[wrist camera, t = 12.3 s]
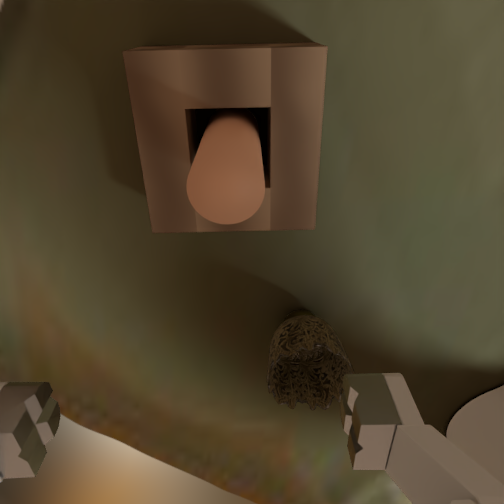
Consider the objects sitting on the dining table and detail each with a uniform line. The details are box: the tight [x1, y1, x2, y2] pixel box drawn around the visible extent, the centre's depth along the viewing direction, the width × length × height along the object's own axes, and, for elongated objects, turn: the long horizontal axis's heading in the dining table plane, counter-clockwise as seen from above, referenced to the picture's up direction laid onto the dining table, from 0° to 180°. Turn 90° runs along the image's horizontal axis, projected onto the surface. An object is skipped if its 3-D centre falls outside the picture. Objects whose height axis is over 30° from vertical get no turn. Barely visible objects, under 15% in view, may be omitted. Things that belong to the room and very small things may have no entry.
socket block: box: [122, 42, 327, 233], centre depth 28 cm, size 12×12×5 cm
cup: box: [267, 310, 355, 410], centre depth 37 cm, size 8×7×8 cm
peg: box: [186, 108, 265, 224], centre depth 25 cm, size 4×4×12 cm
